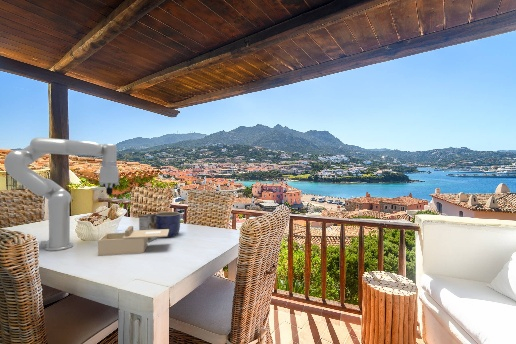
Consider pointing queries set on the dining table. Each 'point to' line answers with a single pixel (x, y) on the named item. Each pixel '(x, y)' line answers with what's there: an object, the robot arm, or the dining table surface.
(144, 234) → the lid
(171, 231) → the planter
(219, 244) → the dining table surface
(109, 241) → the box
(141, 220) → the coffee box
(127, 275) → the dining table surface
